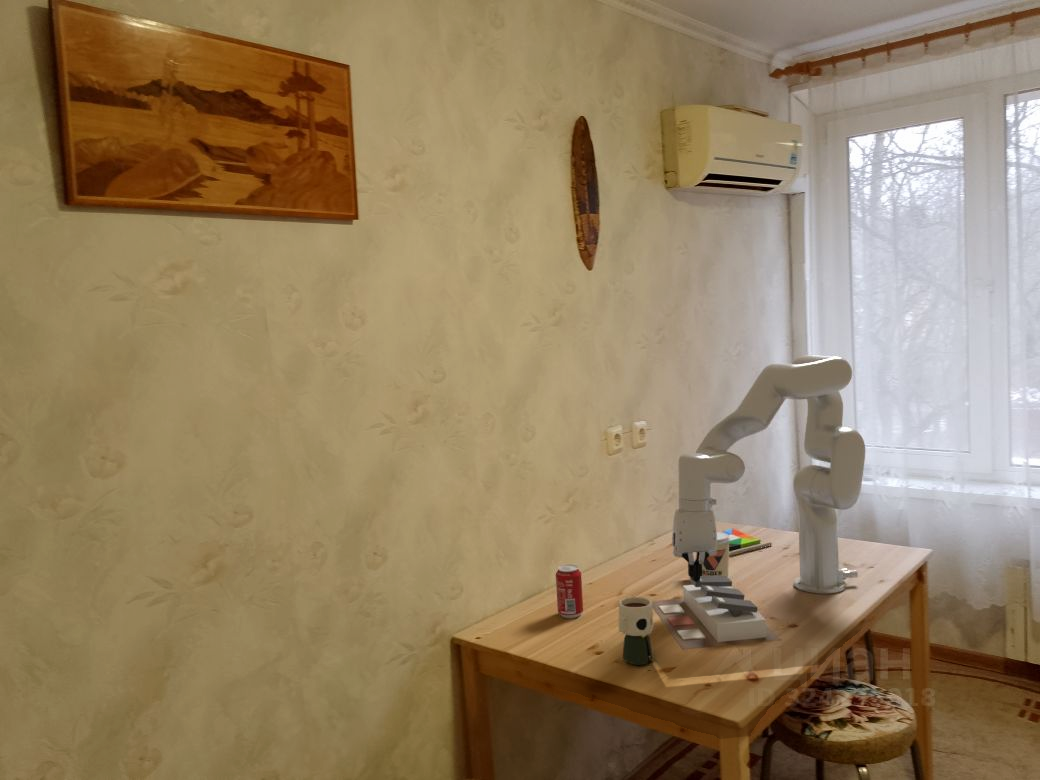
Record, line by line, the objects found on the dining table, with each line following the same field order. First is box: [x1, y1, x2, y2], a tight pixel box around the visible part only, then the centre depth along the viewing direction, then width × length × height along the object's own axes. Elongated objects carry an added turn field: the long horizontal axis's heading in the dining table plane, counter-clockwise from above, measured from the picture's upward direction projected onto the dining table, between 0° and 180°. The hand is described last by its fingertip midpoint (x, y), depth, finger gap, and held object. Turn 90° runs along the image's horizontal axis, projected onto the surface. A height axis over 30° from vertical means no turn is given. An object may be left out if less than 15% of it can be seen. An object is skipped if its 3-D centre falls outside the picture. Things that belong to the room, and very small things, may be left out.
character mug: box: [617, 596, 654, 666], centre depth 174 cm, size 11×7×13 cm, turn 134°
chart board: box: [651, 597, 782, 650], centre depth 193 cm, size 22×30×2 cm
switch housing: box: [682, 584, 767, 642], centre depth 193 cm, size 11×26×4 cm, turn 5°
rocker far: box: [689, 576, 733, 588], centre depth 200 cm, size 9×4×3 cm, turn 95°
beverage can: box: [555, 564, 584, 619], centre depth 203 cm, size 6×6×12 cm
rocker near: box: [711, 596, 758, 617], centre depth 184 cm, size 9×4×3 cm, turn 95°
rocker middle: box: [701, 585, 746, 600], centre depth 192 cm, size 9×4×3 cm, turn 95°
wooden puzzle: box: [718, 528, 773, 557], centre depth 254 cm, size 18×19×4 cm
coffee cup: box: [695, 530, 730, 578], centre depth 224 cm, size 9×9×12 cm
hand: (695, 579), depth 200 cm, fingers closed
